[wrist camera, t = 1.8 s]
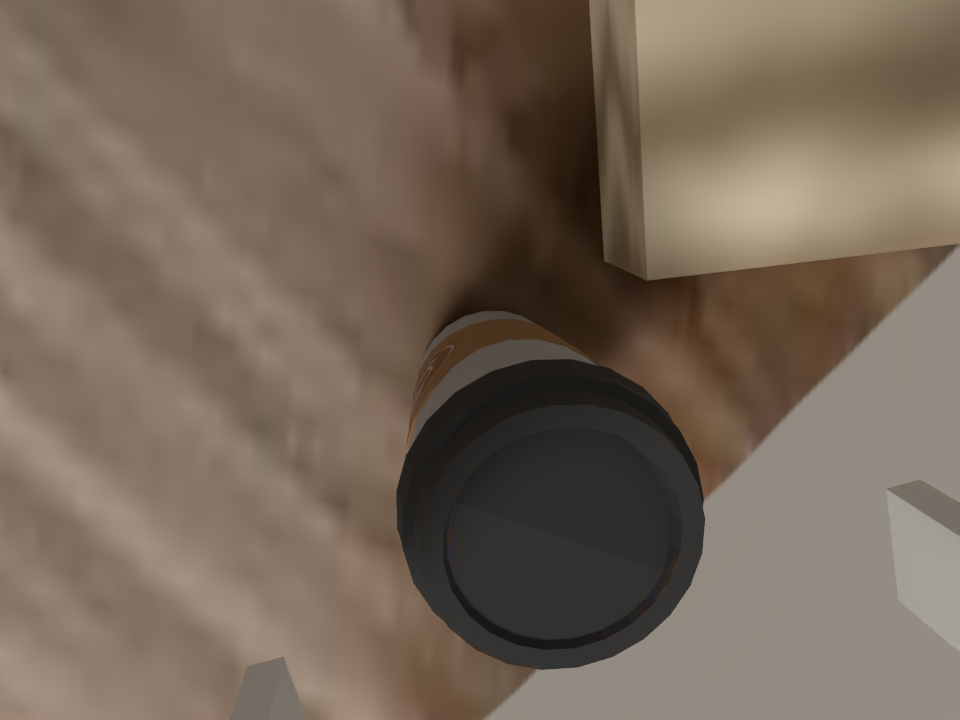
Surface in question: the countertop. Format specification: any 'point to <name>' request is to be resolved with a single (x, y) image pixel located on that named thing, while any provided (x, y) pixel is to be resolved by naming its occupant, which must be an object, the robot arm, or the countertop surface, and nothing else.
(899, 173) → the maple block
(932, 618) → the robot arm
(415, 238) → the countertop surface
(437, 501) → the coffee cup
